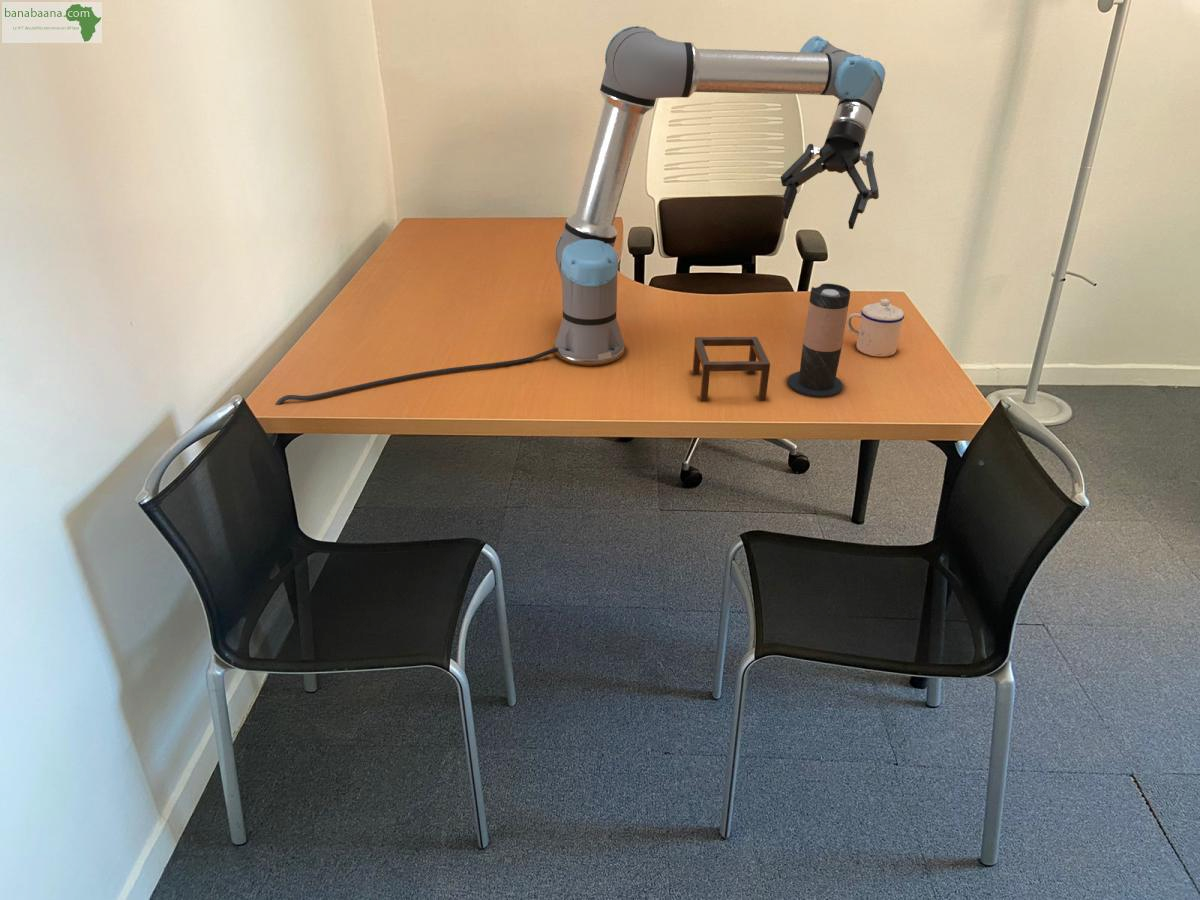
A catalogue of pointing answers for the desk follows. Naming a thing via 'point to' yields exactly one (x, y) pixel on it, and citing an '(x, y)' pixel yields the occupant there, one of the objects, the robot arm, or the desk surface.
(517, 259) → the desk surface
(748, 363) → the rack
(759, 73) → the robot arm
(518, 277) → the desk surface
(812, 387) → the travel mug
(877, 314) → the teacup with lid
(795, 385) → the coaster
